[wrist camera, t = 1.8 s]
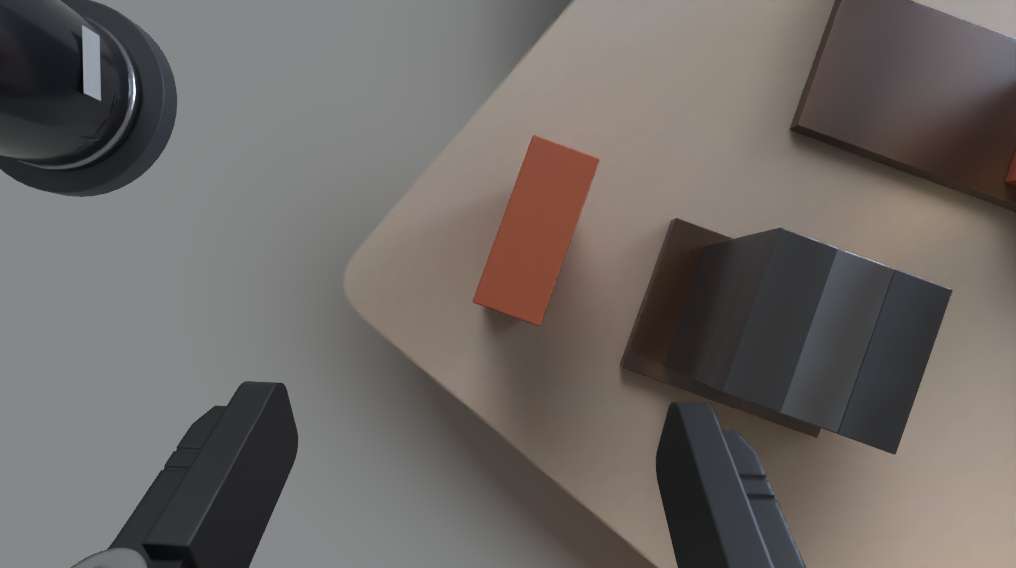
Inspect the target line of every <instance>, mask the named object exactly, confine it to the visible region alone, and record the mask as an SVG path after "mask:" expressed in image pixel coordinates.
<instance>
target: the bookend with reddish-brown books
mask: <svg viewBox="0 0 1016 568" xmlns="http://www.w3.org/2000/svg"><path fill="white" fill-rule="evenodd" d="M790 130H793V131H795V132H798V133H801V134H804V135H806V136H809V137H812V138H815V139H817V140H820V141H823V142H826V143H828V144H831V145H834V146H837V147H839V148H842V149H845V150H848V151H850V152H853V153H856V154H859V155H862V156H864V157H867V158H870V159H873V160H875V161H878V162H881V163H884V164H886V165H889V166H892V167H895V168H897V169H900V170H903V171H906V172H908V173H911V174H914V175H917V176H919V177H922V178H925V179H928V180H930V181H933V182H936V183H939V184H941V185H944V186H947V187H950V188H952V189H955V190H958V191H961V192H964V193H966V194H969V195H972V196H975V197H977V198H980V199H983V200H986V201H988V202H991V203H994V204H997V205H999V206H1002V207H1005V208H1008V209H1010V210H1013V211H1016V39H1015V38H1013V37H1010V36H1007V35H1004V34H1002V33H999V32H996V31H993V30H991V29H988V28H985V27H982V26H980V25H977V24H974V23H971V22H969V21H966V20H963V19H960V18H958V17H955V16H952V15H949V14H946V13H944V12H941V11H938V10H935V9H933V8H930V7H927V6H924V5H922V4H919V3H916V2H913V1H911V0H835V3H834V6H833V9H832V12H831V14H830V17H829V20H828V23H827V26H826V28H825V31H824V34H823V37H822V40H821V43H820V45H819V48H818V51H817V54H816V57H815V59H814V62H813V65H812V68H811V71H810V74H809V76H808V79H807V82H806V85H805V88H804V90H803V93H802V96H801V99H800V102H799V105H798V107H797V110H796V113H795V116H794V119H793V121H792V124H791V127H790Z"/></svg>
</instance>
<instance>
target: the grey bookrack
mask: <svg viewBox="0 0 1016 568" xmlns="http://www.w3.org/2000/svg"><path fill="white" fill-rule="evenodd" d="M951 293H952V289H949V288H947V287H944V286H941V285H938V284H936V283H933V282H930V281H927V280H925V279H922V278H919V277H916V276H914V275H911V274H908V273H905V272H903V271H900V270H897V269H894V268H891V267H888V266H886V265H883V264H880V263H877V262H875V261H872V260H869V259H866V258H864V257H861V256H858V255H855V254H853V253H850V252H847V251H844V250H841V249H837V248H836V247H833V246H831V245H828V244H825V243H822V242H820V241H817V240H814V239H811V238H808V237H806V236H803V235H800V234H797V233H795V232H792V231H789V230H786V229H784V228H777V229H773V230H768V231H764V232H760V233H756V234H752V235H747V236H743V237H739V238H735V239H733V238H730V237H727V236H724V235H722V234H719V233H716V232H713V231H711V230H708V229H705V228H702V227H700V226H697V225H694V224H691V223H689V222H686V221H683V220H680V219H678V218H676V219H673V220H672V221H671V223H670V226H669V229H668V232H667V234H666V237H665V240H664V243H663V245H662V248H661V251H660V254H659V257H658V259H657V262H656V265H655V268H654V271H653V273H652V276H651V279H650V282H649V285H648V287H647V290H646V293H645V296H644V299H643V301H642V304H641V307H640V310H639V313H638V315H637V318H636V321H635V324H634V326H633V329H632V332H631V335H630V338H629V340H628V343H627V346H626V349H625V352H624V354H623V357H622V360H621V363H620V366H622V367H623V368H626V369H628V370H631V371H634V372H637V373H639V374H642V375H645V376H648V377H650V378H653V379H656V380H659V381H661V382H664V383H667V384H670V385H672V386H675V387H678V388H681V389H683V390H686V391H689V392H692V393H694V394H697V395H700V396H703V397H706V398H708V399H711V400H714V401H717V402H719V403H722V404H725V405H728V406H730V407H733V408H736V409H739V410H741V411H744V412H747V413H750V414H752V415H755V416H758V417H761V418H763V419H766V420H769V421H772V422H774V423H777V424H780V425H783V426H785V427H788V428H791V429H794V430H796V431H799V432H802V433H805V434H807V435H810V436H813V437H816V438H817V437H818V435H819V432H820V429H821V428H823V429H826V430H828V431H831V432H834V433H837V434H839V435H842V436H845V437H847V438H850V439H853V440H856V441H859V442H861V443H864V444H867V445H870V446H872V447H875V448H878V449H881V450H883V451H886V452H889V453H892V454H896V452H897V449H898V446H899V443H900V440H901V437H902V434H903V432H904V429H905V426H906V423H907V420H908V417H909V414H910V411H911V409H912V406H913V403H914V400H915V397H916V394H917V391H918V388H919V386H920V383H921V380H922V377H923V374H924V371H925V368H926V365H927V363H928V360H929V357H930V354H931V351H932V348H933V345H934V342H935V339H936V337H937V334H938V331H939V328H940V325H941V322H942V319H943V316H944V314H945V311H946V308H947V305H948V302H949V299H950V296H951Z"/></svg>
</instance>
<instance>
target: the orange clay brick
mask: <svg viewBox="0 0 1016 568" xmlns="http://www.w3.org/2000/svg"><path fill="white" fill-rule="evenodd" d="M599 161H600V159H599V158H596V157H593V156H590V155H588V154H585V153H582V152H579V151H577V150H574V149H571V148H568V147H566V146H563V145H560V144H557V143H555V142H552V141H549V140H546V139H544V138H541V137H538V136H535V135H533V137H532V139H531V142H530V145H529V148H528V150H527V153H526V156H525V159H524V161H523V164H522V167H521V170H520V172H519V175H518V178H517V181H516V183H515V186H514V189H513V192H512V194H511V197H510V200H509V203H508V205H507V208H506V211H505V214H504V216H503V219H502V222H501V225H500V227H499V230H498V233H497V236H496V238H495V241H494V244H493V247H492V249H491V252H490V255H489V258H488V260H487V263H486V266H485V269H484V271H483V274H482V277H481V280H480V282H479V285H478V288H477V291H476V293H475V296H474V299H473V302H474V303H476V304H479V305H481V306H484V307H487V308H490V309H493V310H495V311H498V312H501V313H504V314H506V315H509V316H512V317H515V318H517V319H520V320H523V321H526V322H528V323H531V324H534V325H537V326H540V324H541V321H542V319H543V316H544V313H545V310H546V307H547V305H548V302H549V299H550V296H551V294H552V291H553V288H554V285H555V283H556V280H557V277H558V274H559V271H560V269H561V266H562V263H563V260H564V258H565V255H566V252H567V249H568V247H569V244H570V241H571V238H572V236H573V233H574V230H575V227H576V224H577V222H578V219H579V216H580V213H581V211H582V208H583V205H584V202H585V200H586V197H587V194H588V191H589V188H590V186H591V183H592V180H593V177H594V175H595V172H596V169H597V166H598V164H599Z"/></svg>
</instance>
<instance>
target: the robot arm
mask: <svg viewBox="0 0 1016 568" xmlns="http://www.w3.org/2000/svg"><path fill="white" fill-rule="evenodd" d="M141 105H142V82H141V77H140V73H139V70H138V67H137V65H136V62H135V60H134V58H133V56H132V55H131V53H130V51H129V50H128V48H127V47H126V46H125V45H124V44H123V42H122V41H121V40H120V39H119V38H118V37H116V36H115V35H114V34H113V33H112V32H110V31H109V30H107V29H106V28H104V27H103V26H101V25H100V24H98V23H97V22H95V21H93V20H91V19H89V18H87V17H85V16H83V15H81V14H80V13H78V12H77V11H75V10H74V9H72V8H71V7H69V6H68V5H66V4H65V3H63V2H62V1H60V0H0V155H1V156H4V157H8V158H12V159H15V160H17V161H20V162H22V163H24V164H28V165H31V166H34V167H38V168H42V169H46V170H51V171H64V172H67V171H76V170H81V169H85V168H88V167H91V166H94V165H96V164H98V163H100V162H102V161H104V160H105V159H107V158H108V157H110V156H111V155H112V154H114V153H115V152H116V151H117V150H118V149H119V148H120V147H121V146H122V145H123V144H124V143H125V142H126V140H127V139H128V137H129V136H130V135H131V133H132V131H133V129H134V127H135V125H136V123H137V120H138V117H139V114H140V110H141ZM297 448H298V433H297V428H296V424H295V421H294V417H293V413H292V409H291V405H290V401H289V397H288V393H287V389H286V387H285V385H284V384H283V383H271V382H249V381H248V382H247V381H246V382H243V383H242V384H241V385H240V386H239V387H238V389H237V391H236V392H235V394H234V395H233V397H232V399H231V400H230V402H229V404H228V405H227V406H214V407H213V408H212V409H210V410H209V411H208V412H207V413H206V414H204V415H203V416H202V417H201V418H199V419H198V420H197V421H196V422H195V423H193V424H192V425H191V427H190V428H189V430H188V431H187V433H186V434H185V436H184V437H183V439H182V440H181V442H180V443H179V445H178V446H177V451H176V452H175V451H174V452H173V454H172V455H171V457H170V458H169V459H168V461H167V463H166V464H165V468H164V470H161V472H160V473H159V475H158V476H157V478H156V479H155V480H154V482H153V483H152V485H151V486H150V488H149V489H148V491H147V492H146V494H145V495H144V497H143V499H142V500H141V501H140V503H139V504H138V506H137V507H136V509H135V510H134V512H133V513H132V515H131V516H130V518H129V519H128V521H127V522H126V524H125V525H124V527H123V528H122V530H121V531H120V533H119V534H118V536H117V537H116V539H115V540H114V542H113V543H112V544H111V545H110V547H109V548H108V549H107V550H104V551H100V552H98V553H95V554H93V555H91V556H89V557H87V558H85V559H83V560H81V561H80V562H78V563H77V564H75V565H74V566H72V567H71V568H249V565H250V563H251V561H252V559H253V556H254V554H255V552H256V549H257V547H258V545H259V542H260V540H261V538H262V535H263V533H264V531H265V528H266V526H267V524H268V522H269V519H270V517H271V514H272V512H273V510H274V507H275V505H276V503H277V501H278V498H279V496H280V494H281V491H282V489H283V487H284V485H285V482H286V480H287V478H288V475H289V473H290V471H291V468H292V466H293V464H294V461H295V458H296V454H297ZM656 473H657V480H658V485H659V489H660V494H661V498H662V502H663V506H664V511H665V515H666V519H667V523H668V527H669V532H670V536H671V540H672V544H673V549H674V553H675V557H676V561H677V566H678V568H806V566H805V564H804V562H803V559H802V557H801V555H800V552H799V550H798V548H797V546H796V543H795V541H794V539H793V536H792V534H791V532H790V529H789V527H788V525H787V523H786V520H785V518H784V516H783V513H782V511H781V509H780V506H779V504H778V502H777V500H775V498H774V496H775V495H774V493H773V490H772V488H771V486H770V483H769V481H768V480H766V474H765V472H764V470H763V467H762V465H761V463H760V460H759V458H758V456H757V454H756V452H755V450H754V449H753V448H752V447H751V446H750V445H749V444H748V443H747V442H746V441H745V440H744V438H743V437H742V436H741V435H740V434H739V433H738V432H737V431H728V430H721V427H720V425H719V422H718V420H717V417H716V414H715V412H714V410H713V408H712V406H711V405H710V404H707V403H685V402H672V403H671V404H670V406H669V409H668V412H667V416H666V420H665V423H664V427H663V431H662V434H661V438H660V442H659V445H658V449H657V455H656Z"/></svg>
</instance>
